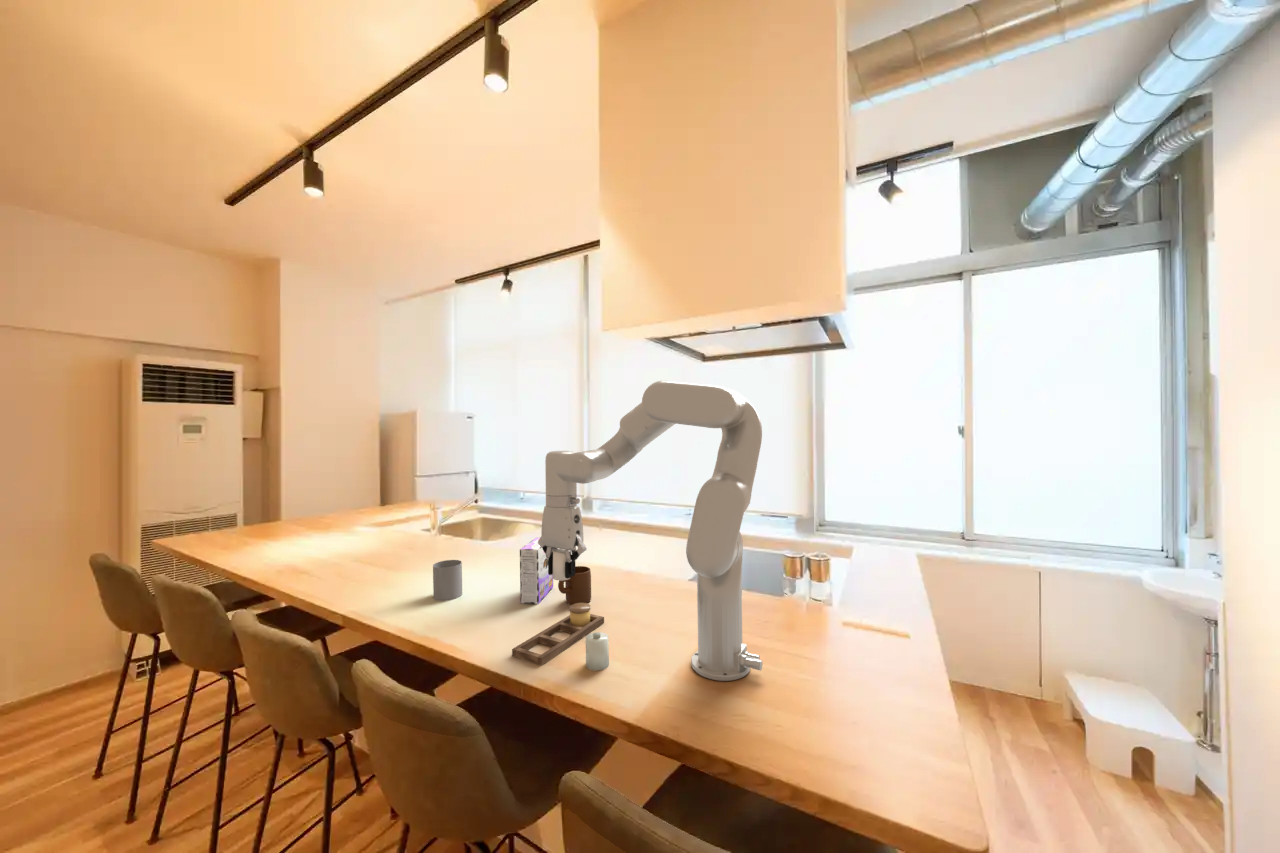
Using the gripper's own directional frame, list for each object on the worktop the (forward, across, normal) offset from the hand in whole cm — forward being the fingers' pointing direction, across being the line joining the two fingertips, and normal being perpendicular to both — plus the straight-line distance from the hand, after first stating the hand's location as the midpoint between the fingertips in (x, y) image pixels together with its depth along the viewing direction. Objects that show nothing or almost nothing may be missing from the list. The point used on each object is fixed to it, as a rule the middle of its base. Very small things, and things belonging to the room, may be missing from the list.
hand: (561, 574), depth 115 cm
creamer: (+1, 0, 0) cm, 1 cm away
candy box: (+16, +25, -19) cm, 36 cm away
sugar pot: (+16, -15, +6) cm, 23 cm away
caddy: (+16, 0, 0) cm, 16 cm away
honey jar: (+16, 0, -8) cm, 18 cm away
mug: (+16, +11, -19) cm, 27 cm away
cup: (+17, +50, -6) cm, 53 cm away
